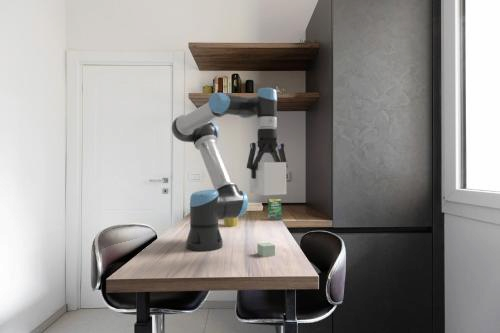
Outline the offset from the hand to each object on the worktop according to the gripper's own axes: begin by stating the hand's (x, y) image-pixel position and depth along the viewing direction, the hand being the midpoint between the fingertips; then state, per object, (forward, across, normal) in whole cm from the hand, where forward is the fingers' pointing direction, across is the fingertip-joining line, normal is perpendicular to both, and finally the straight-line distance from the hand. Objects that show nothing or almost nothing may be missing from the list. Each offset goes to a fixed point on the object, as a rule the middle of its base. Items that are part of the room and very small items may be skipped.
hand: (267, 186), depth 126 cm
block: (+26, -2, -2) cm, 26 cm away
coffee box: (+26, +39, +67) cm, 81 cm away
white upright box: (+3, 0, 0) cm, 3 cm away
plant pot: (+26, +7, +60) cm, 65 cm away
